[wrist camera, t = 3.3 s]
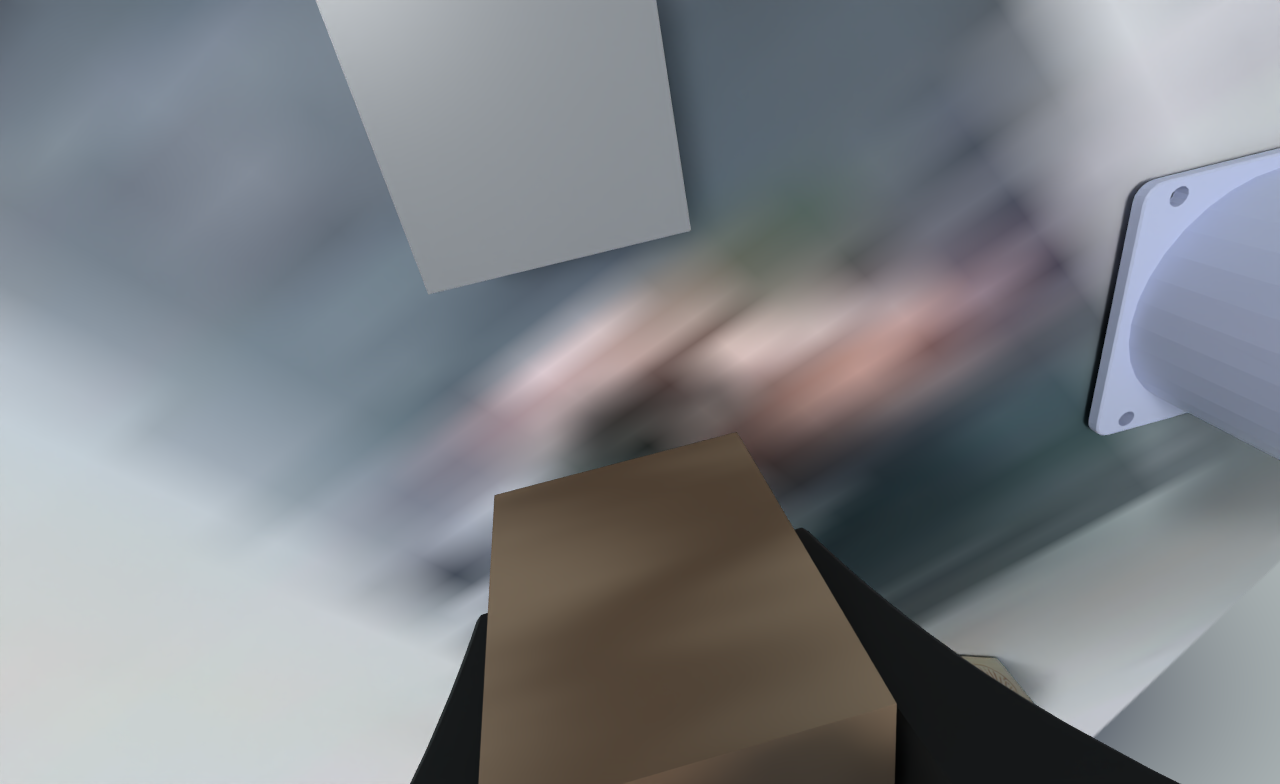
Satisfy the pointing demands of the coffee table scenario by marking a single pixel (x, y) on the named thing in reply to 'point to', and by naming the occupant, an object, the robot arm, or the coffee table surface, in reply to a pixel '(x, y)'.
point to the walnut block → (671, 636)
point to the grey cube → (514, 127)
